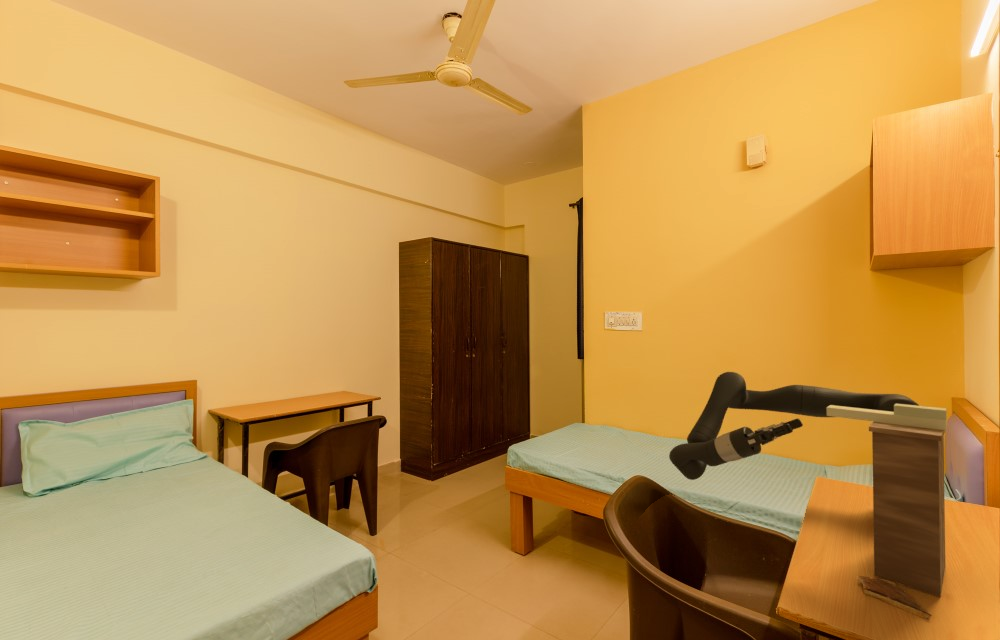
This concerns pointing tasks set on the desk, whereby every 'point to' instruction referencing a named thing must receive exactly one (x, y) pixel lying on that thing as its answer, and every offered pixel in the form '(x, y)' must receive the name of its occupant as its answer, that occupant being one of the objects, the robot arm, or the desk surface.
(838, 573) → the desk surface
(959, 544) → the desk surface
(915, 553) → the walnut stand
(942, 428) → the cream plank with block
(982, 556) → the desk surface
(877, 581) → the shard
